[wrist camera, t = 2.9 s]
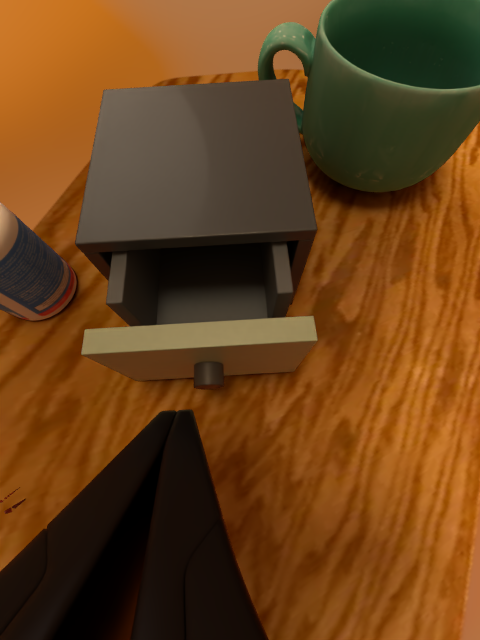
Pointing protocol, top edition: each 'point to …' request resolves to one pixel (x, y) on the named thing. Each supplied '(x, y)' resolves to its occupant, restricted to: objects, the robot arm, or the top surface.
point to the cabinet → (197, 172)
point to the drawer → (202, 314)
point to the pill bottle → (31, 272)
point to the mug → (385, 87)
